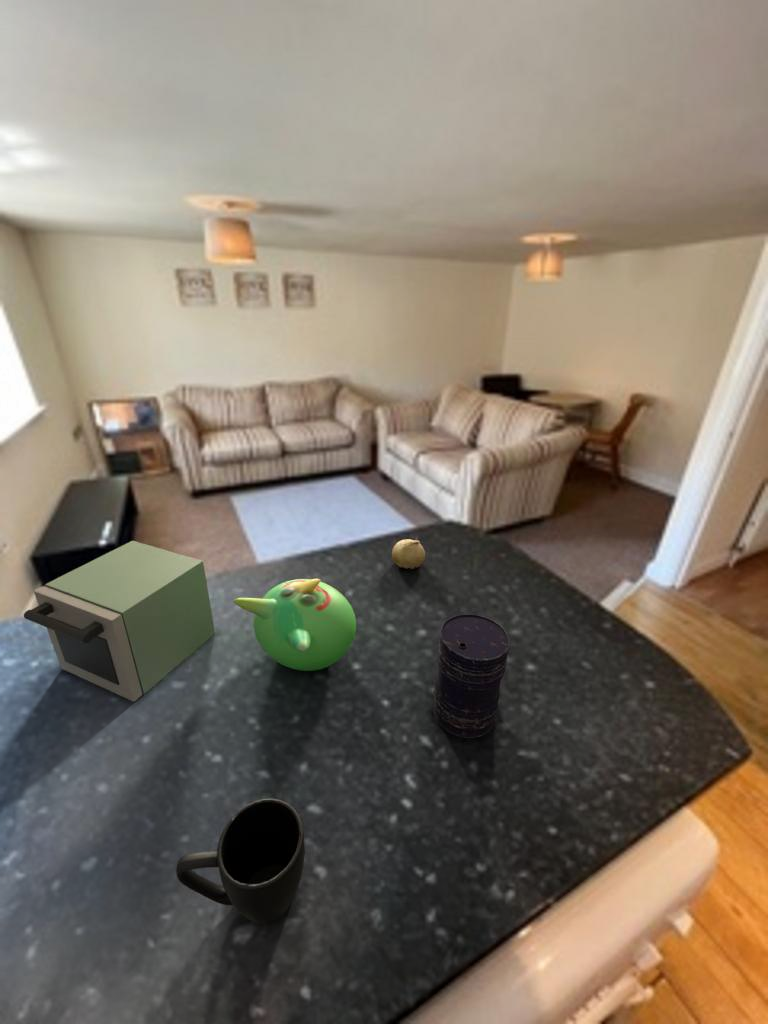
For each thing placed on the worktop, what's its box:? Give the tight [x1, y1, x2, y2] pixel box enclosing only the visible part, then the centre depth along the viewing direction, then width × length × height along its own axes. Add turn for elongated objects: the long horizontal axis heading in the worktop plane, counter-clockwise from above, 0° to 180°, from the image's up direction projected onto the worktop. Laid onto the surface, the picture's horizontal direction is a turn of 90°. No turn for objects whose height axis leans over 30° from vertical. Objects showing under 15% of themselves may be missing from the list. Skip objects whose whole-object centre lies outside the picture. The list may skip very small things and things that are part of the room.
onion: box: [391, 536, 426, 570], centre depth 107 cm, size 8×8×7 cm
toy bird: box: [233, 578, 357, 672], centre depth 77 cm, size 18×17×15 cm
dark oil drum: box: [432, 613, 510, 739], centre depth 67 cm, size 10×10×15 cm
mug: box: [175, 798, 306, 926], centre depth 45 cm, size 8×12×10 cm
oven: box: [44, 540, 216, 695], centre depth 77 cm, size 16×17×16 cm
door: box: [23, 585, 143, 703], centre depth 69 cm, size 5×17×16 cm, turn 67°
